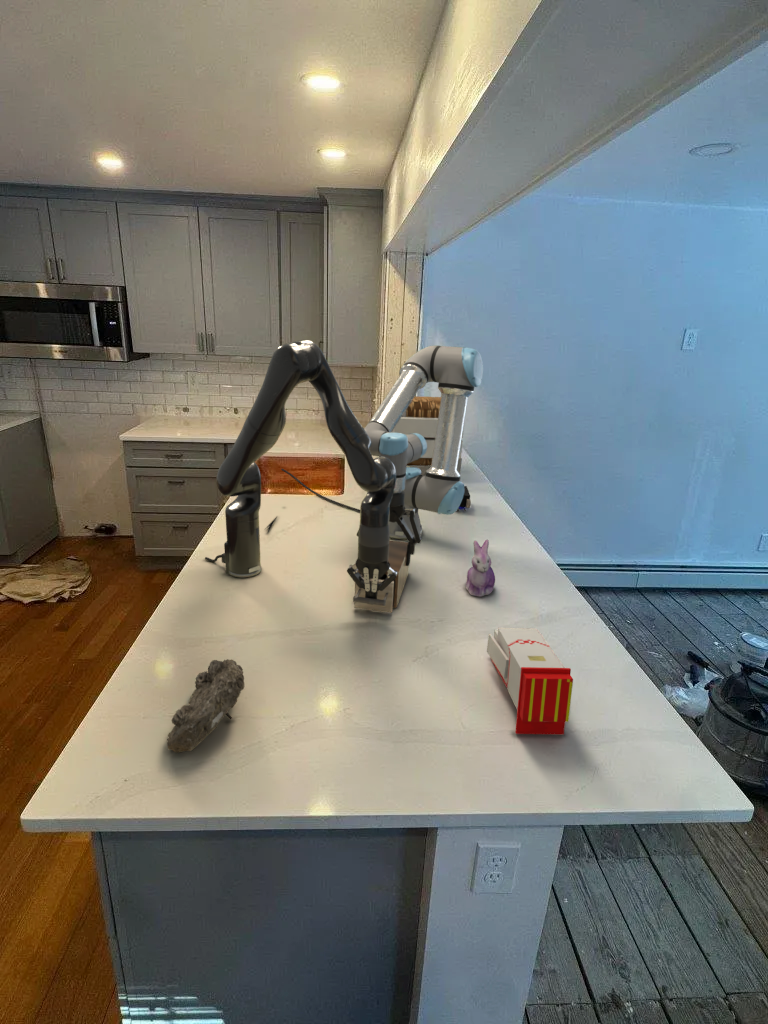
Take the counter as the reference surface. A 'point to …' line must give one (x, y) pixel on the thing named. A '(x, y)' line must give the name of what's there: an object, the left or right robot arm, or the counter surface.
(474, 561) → the figurine
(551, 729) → the toy
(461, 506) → the figurine character
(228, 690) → the fossil
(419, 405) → the white boxy container
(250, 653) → the counter surface
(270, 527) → the feather
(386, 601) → the drawer
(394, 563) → the cabinet
